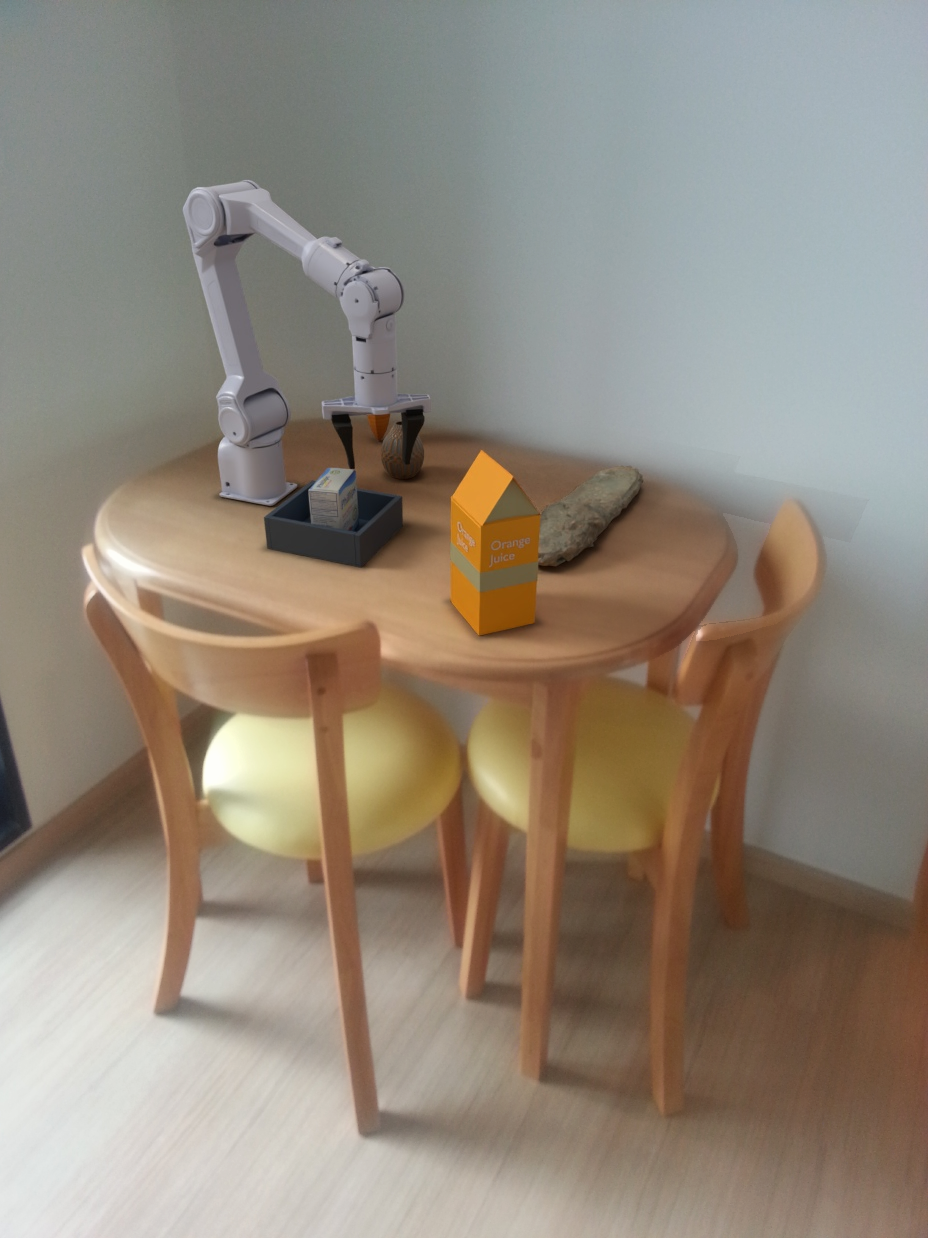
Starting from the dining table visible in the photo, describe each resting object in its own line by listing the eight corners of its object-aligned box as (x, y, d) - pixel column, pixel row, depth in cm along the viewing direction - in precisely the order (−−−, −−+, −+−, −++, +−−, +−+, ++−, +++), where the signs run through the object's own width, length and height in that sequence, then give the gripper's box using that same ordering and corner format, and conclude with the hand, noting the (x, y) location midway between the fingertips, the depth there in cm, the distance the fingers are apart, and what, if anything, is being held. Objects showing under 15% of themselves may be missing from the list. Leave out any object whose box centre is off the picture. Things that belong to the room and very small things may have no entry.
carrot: (361, 444, 167) (357, 358, 159) (369, 434, 171) (365, 350, 163) (389, 446, 166) (387, 360, 158) (396, 436, 170) (393, 352, 163)
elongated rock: (657, 495, 153) (598, 485, 158) (659, 463, 151) (600, 454, 155) (570, 577, 126) (502, 563, 130) (572, 540, 124) (503, 527, 128)
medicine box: (343, 549, 133) (339, 491, 129) (312, 545, 134) (307, 488, 129) (359, 524, 140) (356, 468, 135) (330, 521, 140) (326, 466, 136)
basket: (266, 548, 134) (263, 517, 131) (314, 509, 145) (312, 479, 142) (361, 567, 129) (359, 535, 127) (403, 526, 140) (402, 495, 138)
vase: (432, 472, 157) (432, 420, 152) (408, 486, 152) (406, 433, 147) (398, 463, 160) (396, 412, 156) (373, 476, 155) (370, 424, 151)
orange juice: (478, 636, 115) (481, 481, 105) (449, 601, 122) (449, 452, 111) (536, 622, 118) (545, 470, 107) (505, 589, 125) (510, 443, 114)
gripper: (323, 380, 122) (329, 479, 129) (435, 373, 124) (436, 470, 132) (317, 363, 127) (324, 459, 135) (424, 357, 130) (425, 451, 137)
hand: (378, 464), depth 133 cm, fingers open, 7 cm apart
